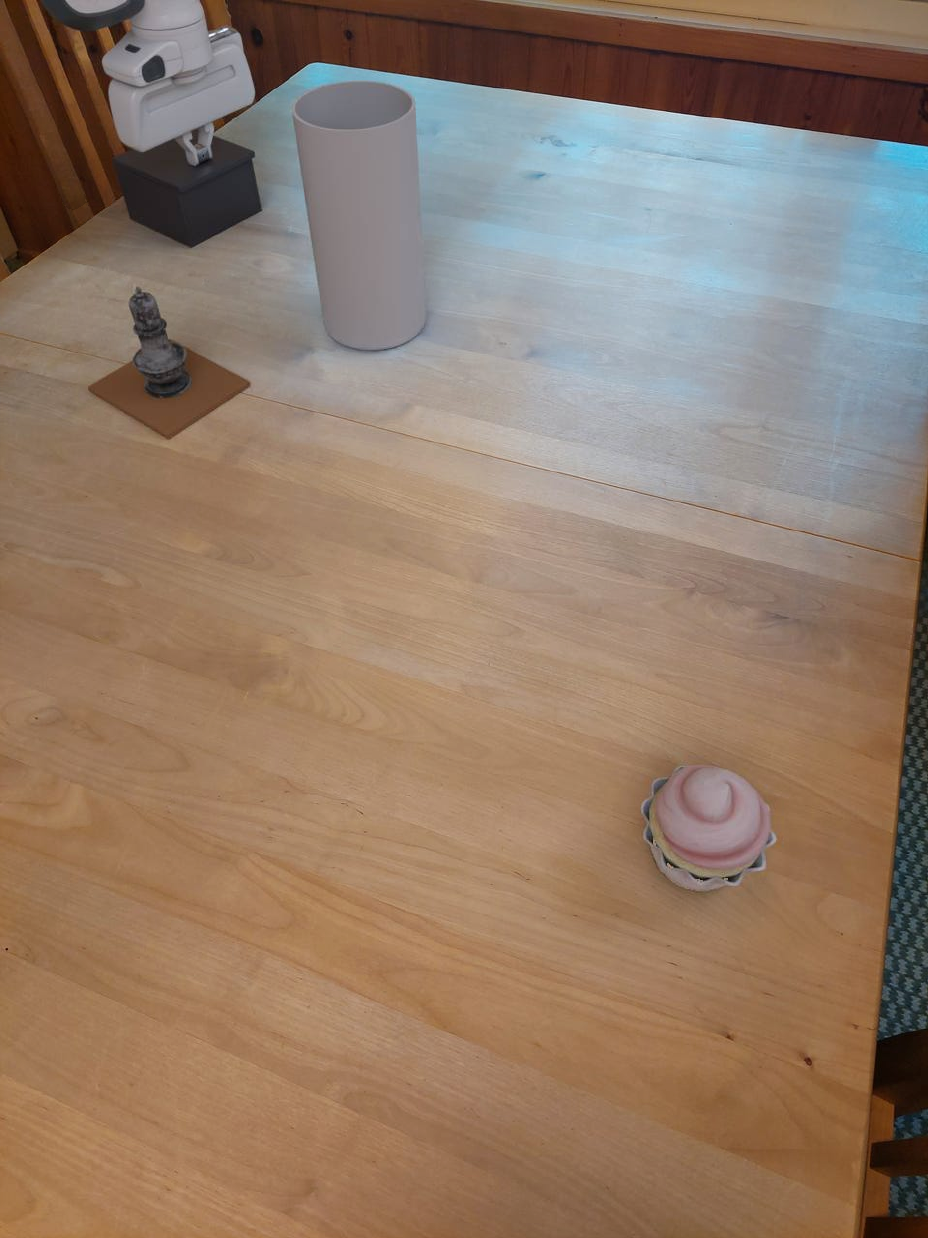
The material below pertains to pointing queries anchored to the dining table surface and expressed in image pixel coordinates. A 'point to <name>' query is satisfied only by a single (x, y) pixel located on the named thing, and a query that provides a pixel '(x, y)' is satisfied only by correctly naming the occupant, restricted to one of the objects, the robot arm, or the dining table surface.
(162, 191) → the dark open-top box
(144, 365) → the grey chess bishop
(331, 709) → the dining table surface
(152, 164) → the dark hinged lid
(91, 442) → the dining table surface
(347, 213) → the cylinder vase
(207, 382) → the cork mat
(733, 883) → the cupcake
